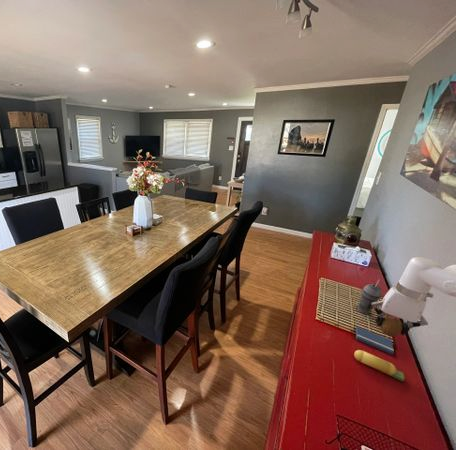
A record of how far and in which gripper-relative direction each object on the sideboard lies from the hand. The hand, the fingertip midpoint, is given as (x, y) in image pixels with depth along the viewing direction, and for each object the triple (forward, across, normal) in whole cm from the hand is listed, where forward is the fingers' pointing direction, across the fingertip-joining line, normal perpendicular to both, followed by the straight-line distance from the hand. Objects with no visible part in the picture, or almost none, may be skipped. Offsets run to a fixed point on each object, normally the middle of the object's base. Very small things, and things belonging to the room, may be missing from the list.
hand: (389, 328), depth 92 cm
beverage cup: (+15, +3, -30) cm, 34 cm away
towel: (+15, 0, -9) cm, 17 cm away
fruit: (+3, 0, 0) cm, 3 cm away
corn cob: (+15, 0, +7) cm, 16 cm away
